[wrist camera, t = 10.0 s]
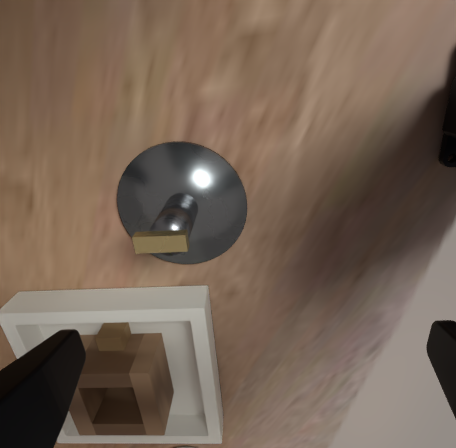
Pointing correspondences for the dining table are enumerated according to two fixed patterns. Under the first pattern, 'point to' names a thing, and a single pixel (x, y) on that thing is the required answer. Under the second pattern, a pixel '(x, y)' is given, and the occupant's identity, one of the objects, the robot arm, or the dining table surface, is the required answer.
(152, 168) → the grey rounded piece
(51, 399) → the robot arm
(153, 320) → the tray
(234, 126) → the dining table surface
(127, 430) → the brown hollow block
